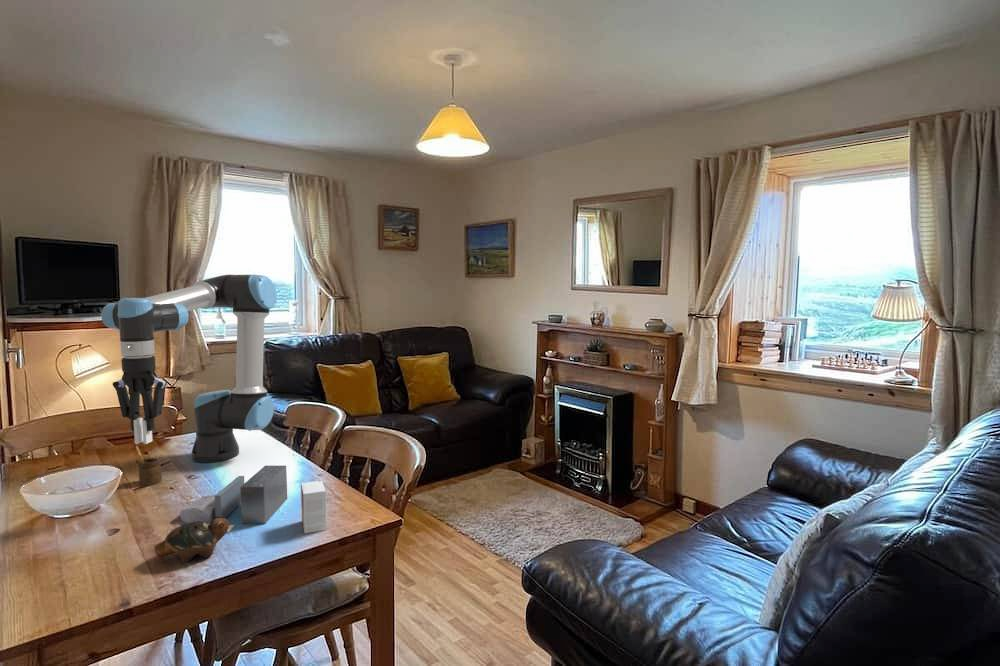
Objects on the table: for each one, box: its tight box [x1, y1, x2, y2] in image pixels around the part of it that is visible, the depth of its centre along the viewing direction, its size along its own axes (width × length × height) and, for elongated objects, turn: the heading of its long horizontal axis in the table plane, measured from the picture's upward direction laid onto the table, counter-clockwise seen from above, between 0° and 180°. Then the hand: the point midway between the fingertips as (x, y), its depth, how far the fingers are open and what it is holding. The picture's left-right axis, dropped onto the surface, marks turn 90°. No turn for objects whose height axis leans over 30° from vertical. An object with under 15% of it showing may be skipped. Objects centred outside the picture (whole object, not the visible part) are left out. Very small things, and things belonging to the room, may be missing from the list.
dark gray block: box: [240, 465, 288, 525], centre depth 150 cm, size 16×6×10 cm, turn 1°
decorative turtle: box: [154, 518, 230, 563], centre depth 126 cm, size 10×15×8 cm, turn 123°
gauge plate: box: [215, 475, 245, 519], centre depth 148 cm, size 19×2×7 cm, turn 1°
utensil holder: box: [135, 445, 163, 486], centre depth 170 cm, size 6×6×12 cm
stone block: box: [179, 493, 217, 524], centre depth 149 cm, size 12×5×10 cm
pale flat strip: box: [226, 524, 235, 533], centre depth 140 cm, size 3×10×1 cm, turn 91°
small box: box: [300, 480, 328, 535], centre depth 142 cm, size 8×6×10 cm
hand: (143, 442), depth 148 cm, fingers closed
